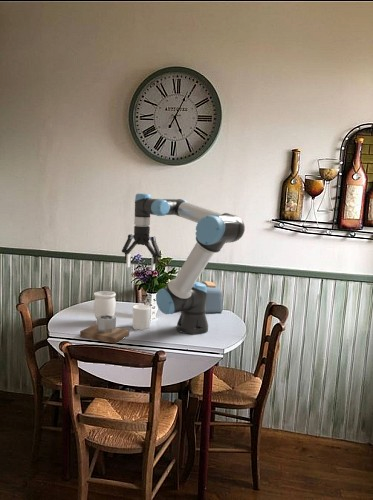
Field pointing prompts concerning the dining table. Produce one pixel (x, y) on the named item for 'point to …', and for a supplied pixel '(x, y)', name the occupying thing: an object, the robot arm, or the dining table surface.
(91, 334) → the post block
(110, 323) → the hub
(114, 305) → the jar
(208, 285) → the toaster
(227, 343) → the dining table surface
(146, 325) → the cup
